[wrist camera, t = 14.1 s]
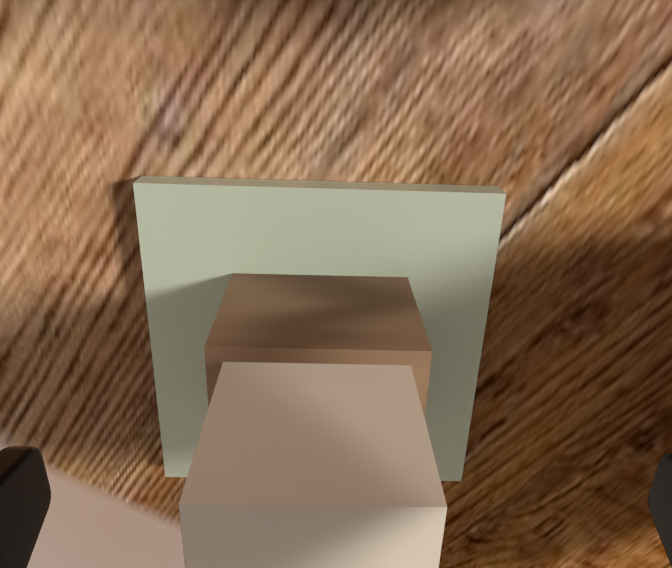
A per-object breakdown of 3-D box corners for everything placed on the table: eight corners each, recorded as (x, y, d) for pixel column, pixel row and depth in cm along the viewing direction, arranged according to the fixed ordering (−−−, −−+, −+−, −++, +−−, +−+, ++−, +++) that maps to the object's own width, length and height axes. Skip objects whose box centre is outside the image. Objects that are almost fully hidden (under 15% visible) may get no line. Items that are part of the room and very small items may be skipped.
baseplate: (497, 186, 20) (506, 193, 19) (456, 464, 24) (461, 481, 23) (141, 175, 19) (132, 182, 18) (171, 459, 24) (165, 476, 23)
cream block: (411, 365, 15) (447, 506, 11) (396, 507, 17) (422, 678, 13) (222, 361, 15) (178, 504, 11) (230, 505, 17) (196, 676, 13)
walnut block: (407, 277, 20) (432, 351, 15) (394, 420, 22) (413, 521, 18) (232, 273, 20) (204, 347, 15) (238, 417, 22) (216, 518, 17)
